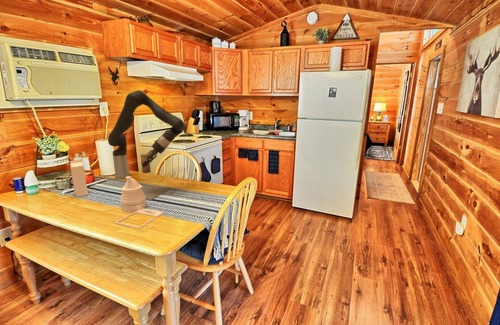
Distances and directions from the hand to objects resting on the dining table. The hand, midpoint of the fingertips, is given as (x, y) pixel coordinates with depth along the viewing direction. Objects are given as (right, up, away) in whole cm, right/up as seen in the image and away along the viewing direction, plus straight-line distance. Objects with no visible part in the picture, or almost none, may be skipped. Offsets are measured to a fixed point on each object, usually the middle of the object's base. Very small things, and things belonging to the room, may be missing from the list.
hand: (142, 165), depth 159 cm
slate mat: (+1, -18, +5) cm, 19 cm away
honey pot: (+2, -23, -15) cm, 28 cm away
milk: (-39, -18, +1) cm, 43 cm away
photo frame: (+11, -27, -28) cm, 41 cm away
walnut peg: (+2, -4, +2) cm, 5 cm away
